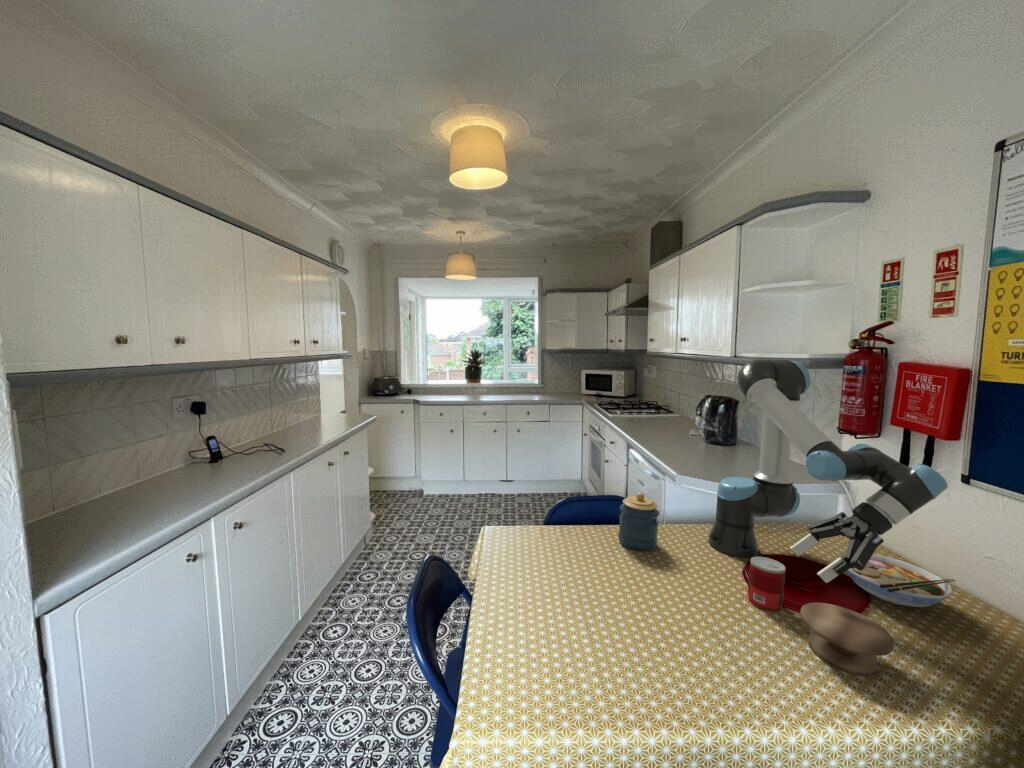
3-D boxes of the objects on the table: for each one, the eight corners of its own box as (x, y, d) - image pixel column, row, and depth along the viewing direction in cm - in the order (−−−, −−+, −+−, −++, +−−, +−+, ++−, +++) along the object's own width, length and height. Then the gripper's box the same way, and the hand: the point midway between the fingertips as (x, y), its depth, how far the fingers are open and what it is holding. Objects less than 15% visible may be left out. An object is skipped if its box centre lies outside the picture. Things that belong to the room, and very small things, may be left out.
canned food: (787, 614, 105) (791, 573, 105) (753, 609, 107) (756, 568, 106) (774, 597, 113) (778, 558, 112) (743, 592, 115) (746, 554, 114)
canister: (625, 531, 152) (628, 484, 150) (662, 542, 144) (665, 492, 143) (612, 544, 141) (615, 493, 140) (650, 556, 133) (653, 503, 132)
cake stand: (795, 657, 90) (798, 627, 90) (800, 621, 103) (802, 594, 102) (894, 697, 80) (898, 663, 80) (886, 651, 93) (889, 622, 92)
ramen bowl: (880, 572, 129) (883, 547, 128) (976, 619, 106) (980, 588, 106) (814, 578, 123) (817, 552, 123) (901, 629, 101) (905, 597, 100)
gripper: (931, 547, 90) (847, 604, 94) (857, 506, 115) (793, 552, 118) (905, 521, 91) (823, 578, 94) (837, 486, 115) (774, 532, 119)
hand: (806, 564), depth 106 cm, fingers open, 13 cm apart
